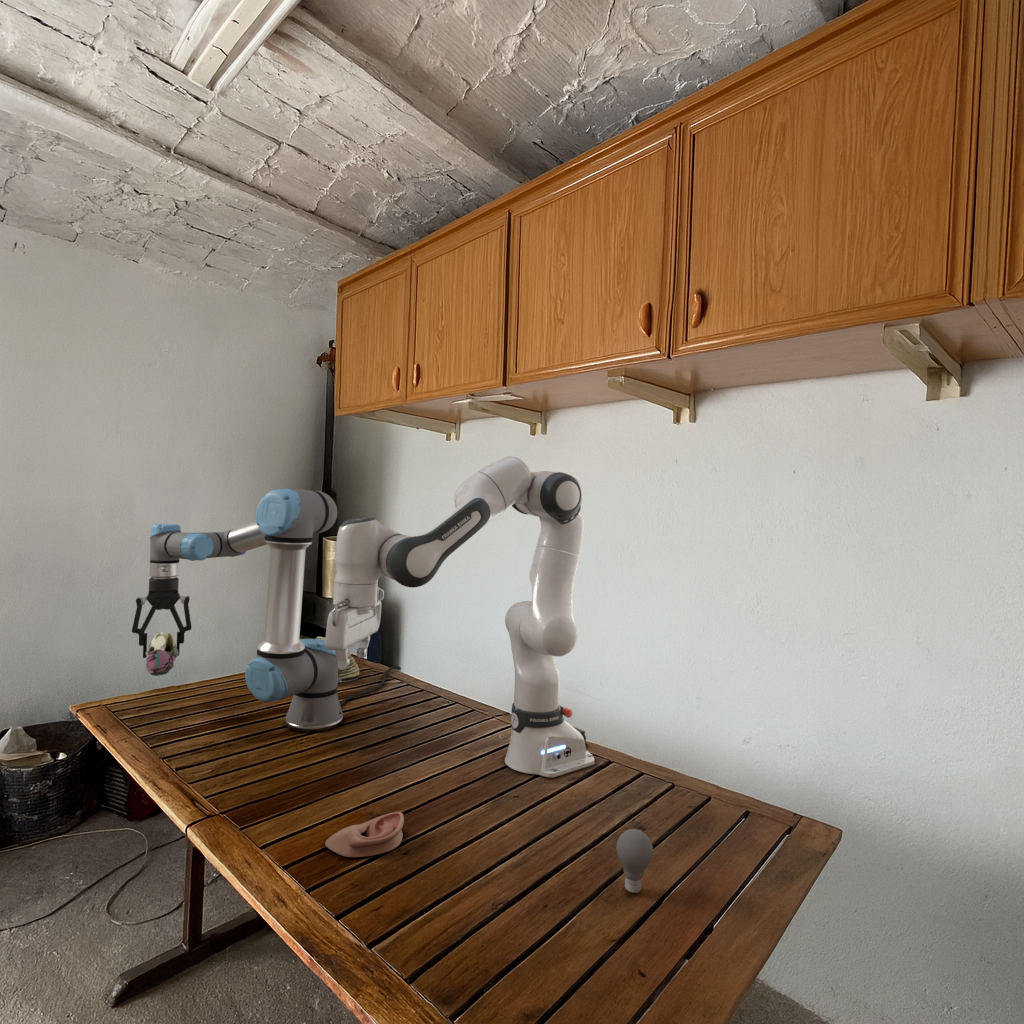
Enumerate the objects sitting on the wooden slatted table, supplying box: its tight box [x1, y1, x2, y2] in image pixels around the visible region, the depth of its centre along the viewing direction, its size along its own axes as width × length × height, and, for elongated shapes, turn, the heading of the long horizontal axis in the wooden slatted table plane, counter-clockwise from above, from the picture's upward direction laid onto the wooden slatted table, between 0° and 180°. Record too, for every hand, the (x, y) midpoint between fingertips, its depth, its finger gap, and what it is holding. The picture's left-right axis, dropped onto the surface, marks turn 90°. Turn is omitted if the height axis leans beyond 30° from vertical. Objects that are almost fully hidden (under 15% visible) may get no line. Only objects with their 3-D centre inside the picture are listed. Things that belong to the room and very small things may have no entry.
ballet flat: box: [145, 631, 180, 677], centre depth 176 cm, size 8×24×9 cm, turn 26°
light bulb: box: [615, 828, 654, 894], centre depth 106 cm, size 6×6×10 cm
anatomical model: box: [324, 811, 405, 858], centre depth 117 cm, size 13×4×12 cm
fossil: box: [315, 636, 361, 683], centre depth 216 cm, size 9×18×15 cm, turn 132°
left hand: (161, 655), depth 183 cm, fingers closed on ballet flat, 8 cm apart
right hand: (352, 662), depth 131 cm, fingers open, 8 cm apart
